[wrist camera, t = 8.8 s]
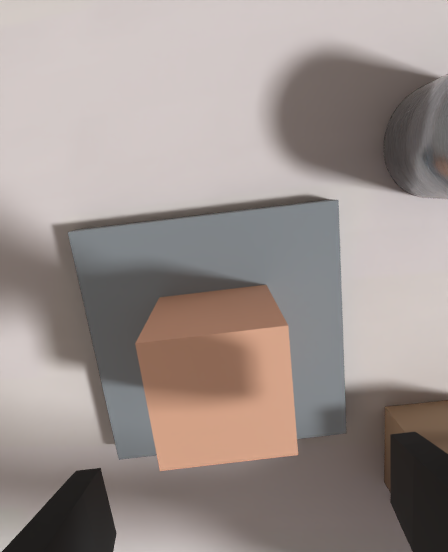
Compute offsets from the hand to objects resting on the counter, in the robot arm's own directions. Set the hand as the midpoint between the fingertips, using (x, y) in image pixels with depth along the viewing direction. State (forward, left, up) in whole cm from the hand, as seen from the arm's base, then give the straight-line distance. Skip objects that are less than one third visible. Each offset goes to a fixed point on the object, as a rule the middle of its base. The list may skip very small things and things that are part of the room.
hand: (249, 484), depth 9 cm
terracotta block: (0, +1, -8) cm, 8 cm away
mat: (0, +1, -9) cm, 9 cm away
